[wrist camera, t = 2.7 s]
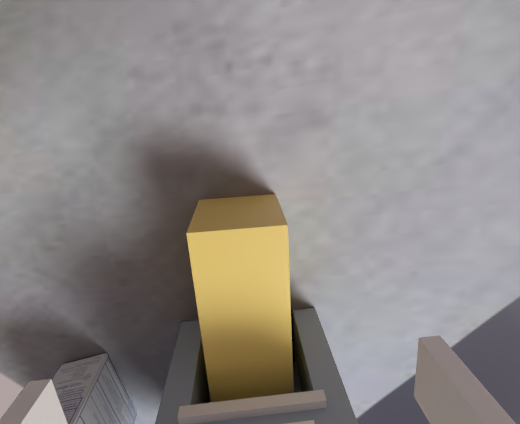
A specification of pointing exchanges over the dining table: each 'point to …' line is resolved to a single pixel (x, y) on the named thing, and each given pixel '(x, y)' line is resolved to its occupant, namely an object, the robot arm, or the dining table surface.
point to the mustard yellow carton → (243, 295)
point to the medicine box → (93, 393)
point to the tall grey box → (258, 408)
